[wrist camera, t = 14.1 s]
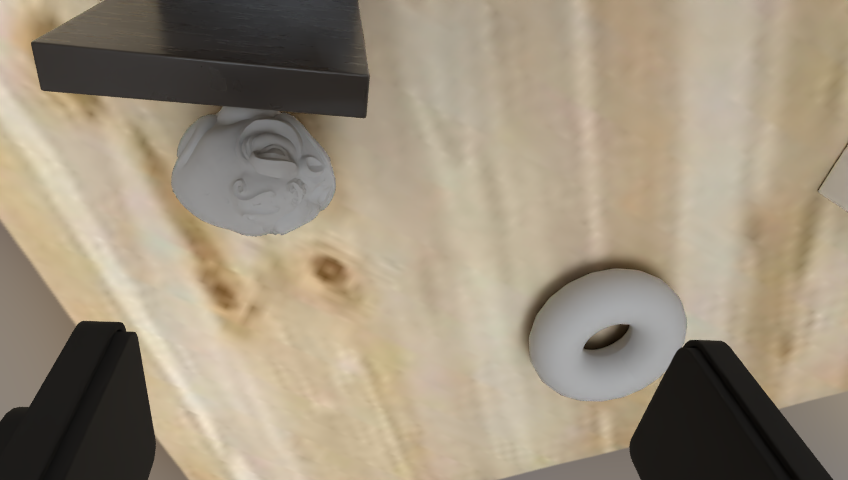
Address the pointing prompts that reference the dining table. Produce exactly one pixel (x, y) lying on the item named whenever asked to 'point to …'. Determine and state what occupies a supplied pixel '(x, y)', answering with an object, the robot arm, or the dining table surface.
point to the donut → (598, 309)
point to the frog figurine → (252, 172)
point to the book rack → (214, 54)
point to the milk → (837, 182)
